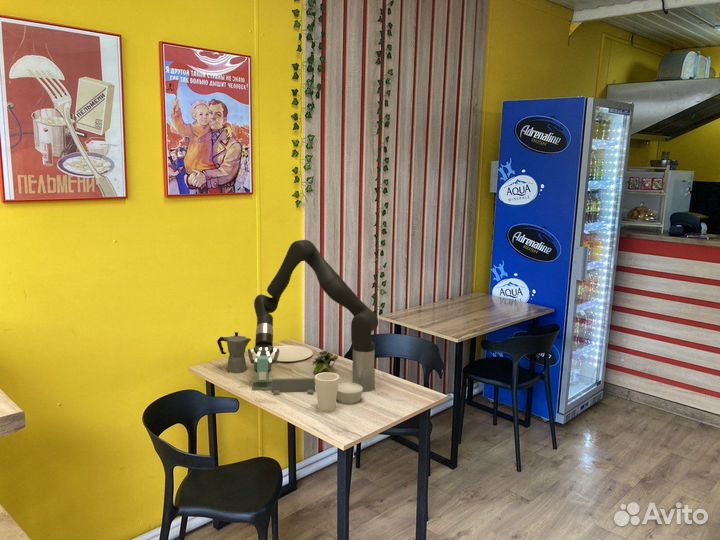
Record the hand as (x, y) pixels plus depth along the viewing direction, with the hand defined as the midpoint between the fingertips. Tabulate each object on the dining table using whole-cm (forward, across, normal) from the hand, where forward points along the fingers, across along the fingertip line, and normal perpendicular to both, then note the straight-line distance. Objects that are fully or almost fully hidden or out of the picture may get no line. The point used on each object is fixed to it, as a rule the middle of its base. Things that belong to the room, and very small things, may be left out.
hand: (262, 371), depth 236 cm
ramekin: (+15, +35, -4) cm, 39 cm away
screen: (+9, +13, +1) cm, 16 cm away
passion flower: (-8, +28, +19) cm, 35 cm away
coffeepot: (-11, -14, +22) cm, 28 cm away
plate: (-25, +10, +36) cm, 45 cm away
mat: (+4, 0, +6) cm, 7 cm away
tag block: (+2, 0, +4) cm, 5 cm away
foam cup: (+21, +26, -10) cm, 35 cm away
